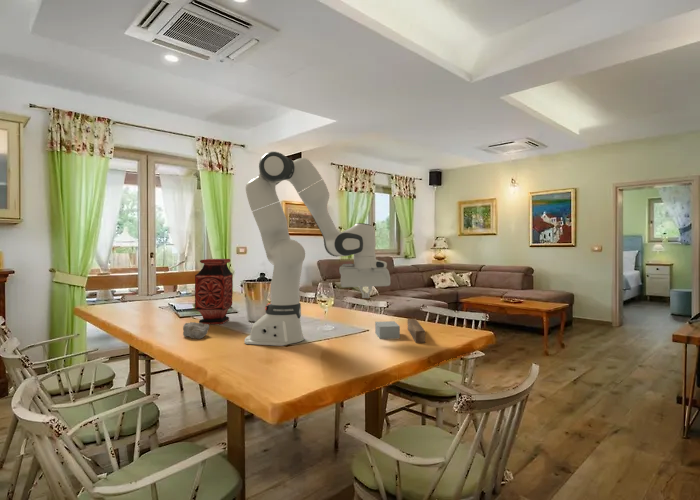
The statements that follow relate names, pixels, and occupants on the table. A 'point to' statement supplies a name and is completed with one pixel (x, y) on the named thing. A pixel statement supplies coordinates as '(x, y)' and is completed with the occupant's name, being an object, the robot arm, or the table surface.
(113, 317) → the table surface
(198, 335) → the stone
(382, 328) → the block
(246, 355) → the table surface
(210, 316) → the vase
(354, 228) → the robot arm
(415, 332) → the dark brown bar
